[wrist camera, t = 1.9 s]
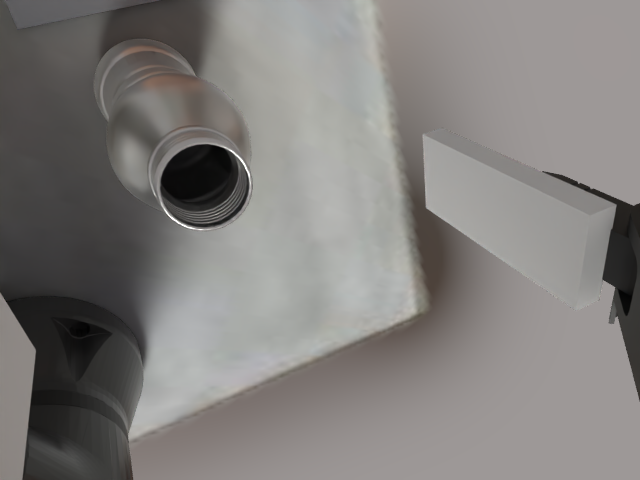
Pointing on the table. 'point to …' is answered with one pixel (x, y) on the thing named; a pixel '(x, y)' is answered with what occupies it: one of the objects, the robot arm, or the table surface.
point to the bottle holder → (61, 9)
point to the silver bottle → (173, 135)
